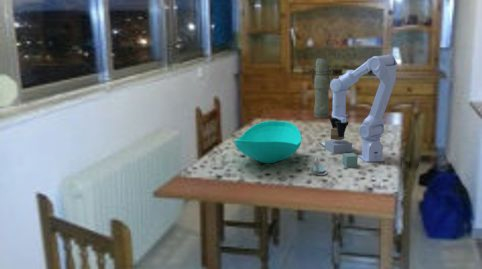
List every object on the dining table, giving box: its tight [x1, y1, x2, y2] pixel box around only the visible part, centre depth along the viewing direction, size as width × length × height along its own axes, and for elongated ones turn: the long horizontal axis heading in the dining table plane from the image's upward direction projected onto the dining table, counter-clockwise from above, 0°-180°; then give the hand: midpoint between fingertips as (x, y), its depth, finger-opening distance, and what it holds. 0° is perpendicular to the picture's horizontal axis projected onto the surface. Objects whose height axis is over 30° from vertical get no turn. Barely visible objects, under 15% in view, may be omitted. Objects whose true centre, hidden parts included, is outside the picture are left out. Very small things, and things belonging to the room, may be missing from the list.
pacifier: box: [311, 157, 328, 176], centre depth 204 cm, size 7×6×6 cm
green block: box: [342, 152, 359, 168], centre depth 213 cm, size 5×5×5 cm
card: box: [318, 141, 325, 148], centre depth 247 cm, size 8×8×1 cm
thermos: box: [311, 56, 333, 119], centre depth 306 cm, size 9×12×35 cm
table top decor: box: [233, 120, 303, 164], centre depth 222 cm, size 40×28×13 cm
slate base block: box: [324, 139, 353, 154], centre depth 237 cm, size 9×9×4 cm
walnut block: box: [330, 127, 345, 140], centre depth 236 cm, size 5×5×5 cm
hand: (338, 135), depth 236 cm, fingers closed on walnut block, 6 cm apart
